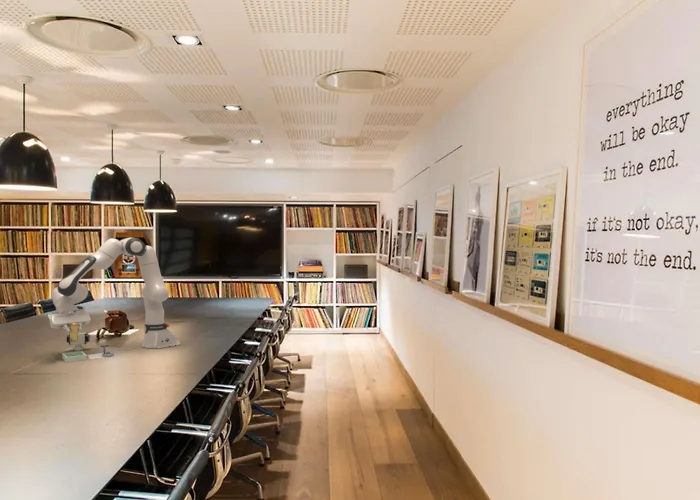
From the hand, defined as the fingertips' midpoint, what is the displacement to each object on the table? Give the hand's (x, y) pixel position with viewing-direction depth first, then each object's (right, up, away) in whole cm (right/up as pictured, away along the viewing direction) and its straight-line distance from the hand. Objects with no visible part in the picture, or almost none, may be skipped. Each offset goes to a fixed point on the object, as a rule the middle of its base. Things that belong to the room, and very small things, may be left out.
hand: (74, 331), depth 266 cm
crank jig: (+10, -16, +9) cm, 21 cm away
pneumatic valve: (-10, -16, +22) cm, 29 cm away
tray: (-1, -16, +1) cm, 16 cm away
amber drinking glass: (-1, -5, 0) cm, 5 cm away
